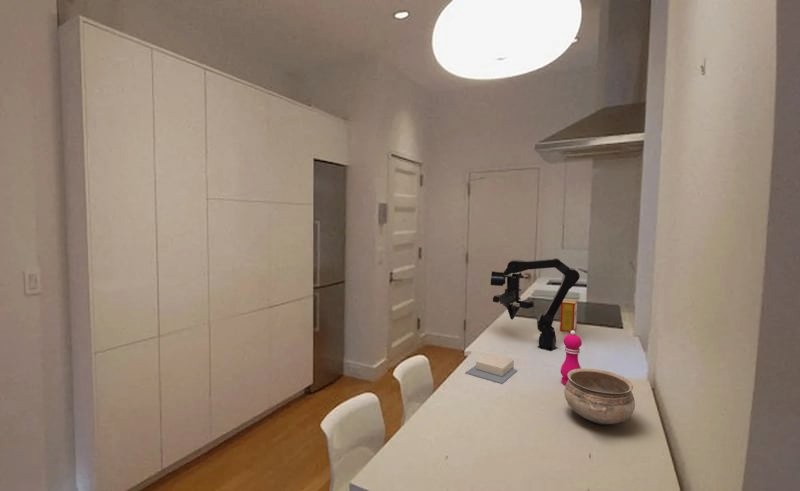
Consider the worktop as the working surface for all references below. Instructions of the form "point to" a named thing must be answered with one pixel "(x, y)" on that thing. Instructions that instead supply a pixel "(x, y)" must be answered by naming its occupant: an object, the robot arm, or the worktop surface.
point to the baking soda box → (568, 315)
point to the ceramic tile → (495, 364)
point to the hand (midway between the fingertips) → (512, 319)
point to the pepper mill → (570, 355)
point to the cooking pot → (599, 395)
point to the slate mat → (491, 375)
